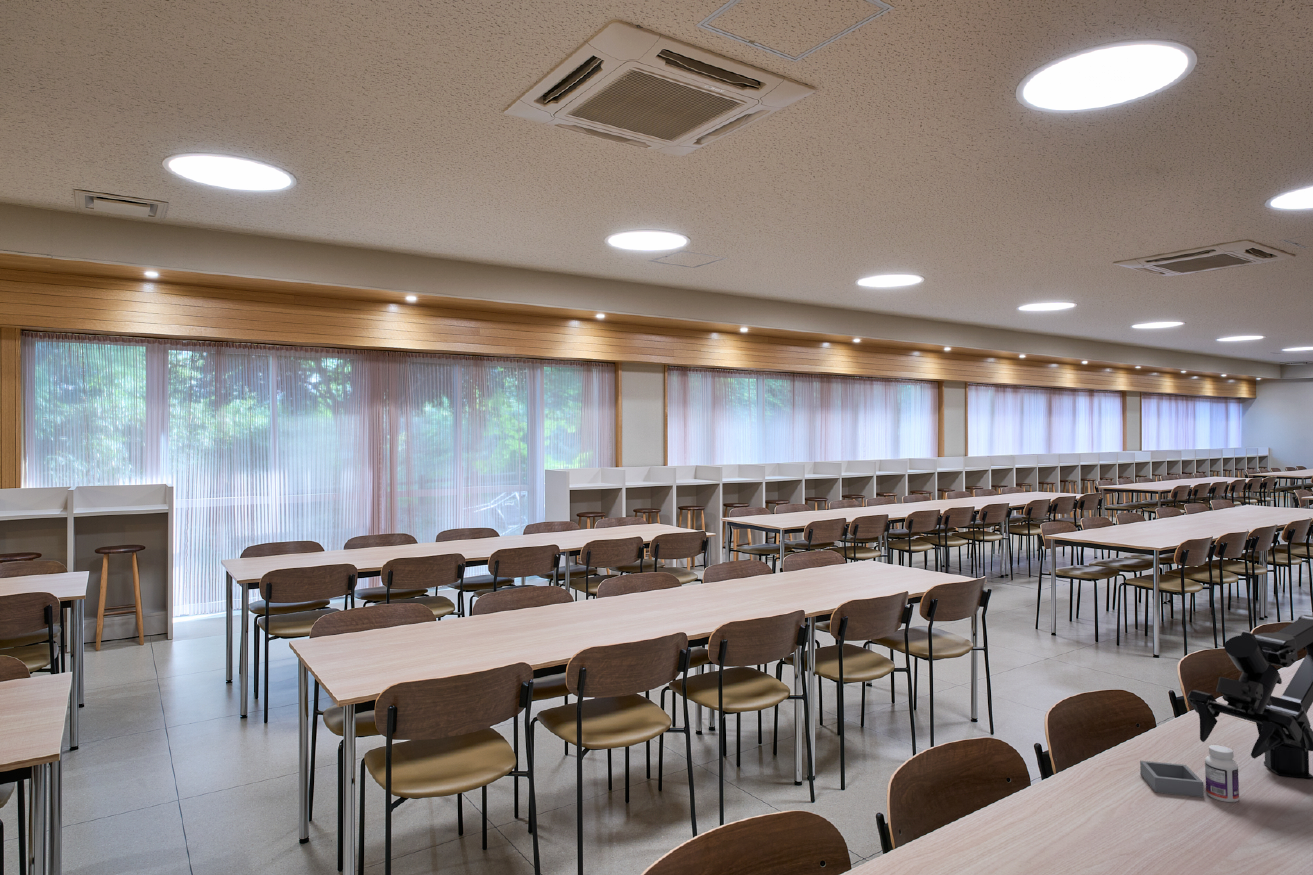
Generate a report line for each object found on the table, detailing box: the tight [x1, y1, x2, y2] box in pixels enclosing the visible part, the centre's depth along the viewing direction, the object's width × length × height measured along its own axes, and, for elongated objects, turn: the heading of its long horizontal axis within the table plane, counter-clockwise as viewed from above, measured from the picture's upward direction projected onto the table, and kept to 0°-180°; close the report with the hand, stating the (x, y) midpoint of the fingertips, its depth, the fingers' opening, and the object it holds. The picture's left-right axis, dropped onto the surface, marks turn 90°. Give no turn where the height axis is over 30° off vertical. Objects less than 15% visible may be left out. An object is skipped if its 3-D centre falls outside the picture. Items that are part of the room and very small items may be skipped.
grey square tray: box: [1139, 760, 1205, 798], centre depth 155 cm, size 9×9×3 cm
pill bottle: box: [1204, 744, 1240, 803], centre depth 150 cm, size 5×5×10 cm
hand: (1226, 748), depth 151 cm, fingers open, 9 cm apart
